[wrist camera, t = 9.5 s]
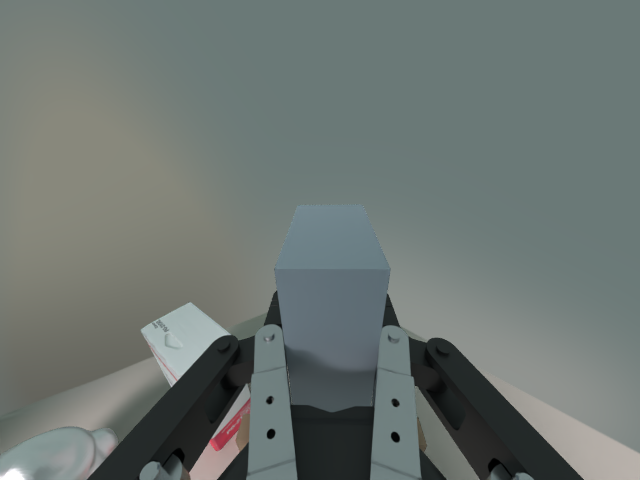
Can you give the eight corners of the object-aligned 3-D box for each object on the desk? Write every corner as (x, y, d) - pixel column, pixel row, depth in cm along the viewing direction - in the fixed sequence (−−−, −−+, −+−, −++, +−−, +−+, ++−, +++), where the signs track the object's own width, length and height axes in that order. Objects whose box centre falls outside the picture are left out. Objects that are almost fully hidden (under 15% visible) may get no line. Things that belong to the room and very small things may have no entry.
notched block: (297, 438, 13) (274, 269, 8) (306, 338, 20) (297, 205, 14) (365, 439, 13) (390, 269, 8) (353, 338, 19) (362, 204, 14)
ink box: (257, 408, 25) (237, 335, 20) (217, 455, 22) (179, 382, 16) (214, 366, 30) (189, 297, 24) (175, 399, 26) (135, 328, 21)
